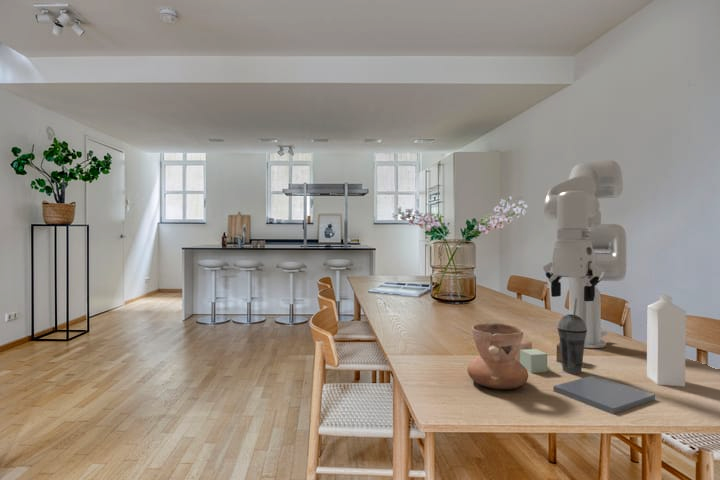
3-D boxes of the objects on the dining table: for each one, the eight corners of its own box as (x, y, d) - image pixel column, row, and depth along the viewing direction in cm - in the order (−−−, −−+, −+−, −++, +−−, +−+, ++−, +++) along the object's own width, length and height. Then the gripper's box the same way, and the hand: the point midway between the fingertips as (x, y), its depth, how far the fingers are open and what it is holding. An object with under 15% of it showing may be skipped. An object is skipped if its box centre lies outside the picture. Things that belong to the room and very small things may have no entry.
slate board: (594, 379, 103) (594, 375, 103) (655, 399, 90) (655, 394, 90) (553, 390, 95) (553, 385, 95) (613, 414, 83) (613, 408, 83)
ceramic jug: (526, 401, 89) (526, 338, 89) (461, 390, 95) (461, 332, 95) (529, 376, 106) (529, 322, 106) (473, 368, 112) (473, 318, 112)
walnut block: (561, 358, 121) (561, 341, 121) (579, 361, 118) (579, 344, 118) (556, 361, 118) (556, 345, 118) (575, 365, 114) (575, 348, 114)
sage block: (535, 366, 114) (535, 348, 114) (547, 371, 109) (547, 353, 109) (520, 367, 113) (520, 349, 113) (531, 373, 108) (531, 354, 108)
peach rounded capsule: (519, 358, 121) (519, 338, 121) (536, 363, 116) (536, 343, 116) (505, 360, 119) (505, 340, 118) (522, 366, 113) (522, 345, 113)
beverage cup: (551, 367, 113) (551, 296, 112) (576, 366, 113) (576, 296, 113) (567, 376, 105) (567, 301, 105) (593, 375, 106) (593, 300, 106)
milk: (657, 385, 99) (657, 297, 99) (646, 376, 105) (646, 293, 105) (685, 387, 98) (686, 297, 98) (673, 378, 104) (673, 294, 104)
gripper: (612, 236, 103) (612, 302, 103) (553, 236, 118) (552, 294, 118) (594, 235, 100) (594, 304, 99) (536, 236, 115) (535, 295, 115)
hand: (571, 298), depth 109 cm, fingers open, 9 cm apart
